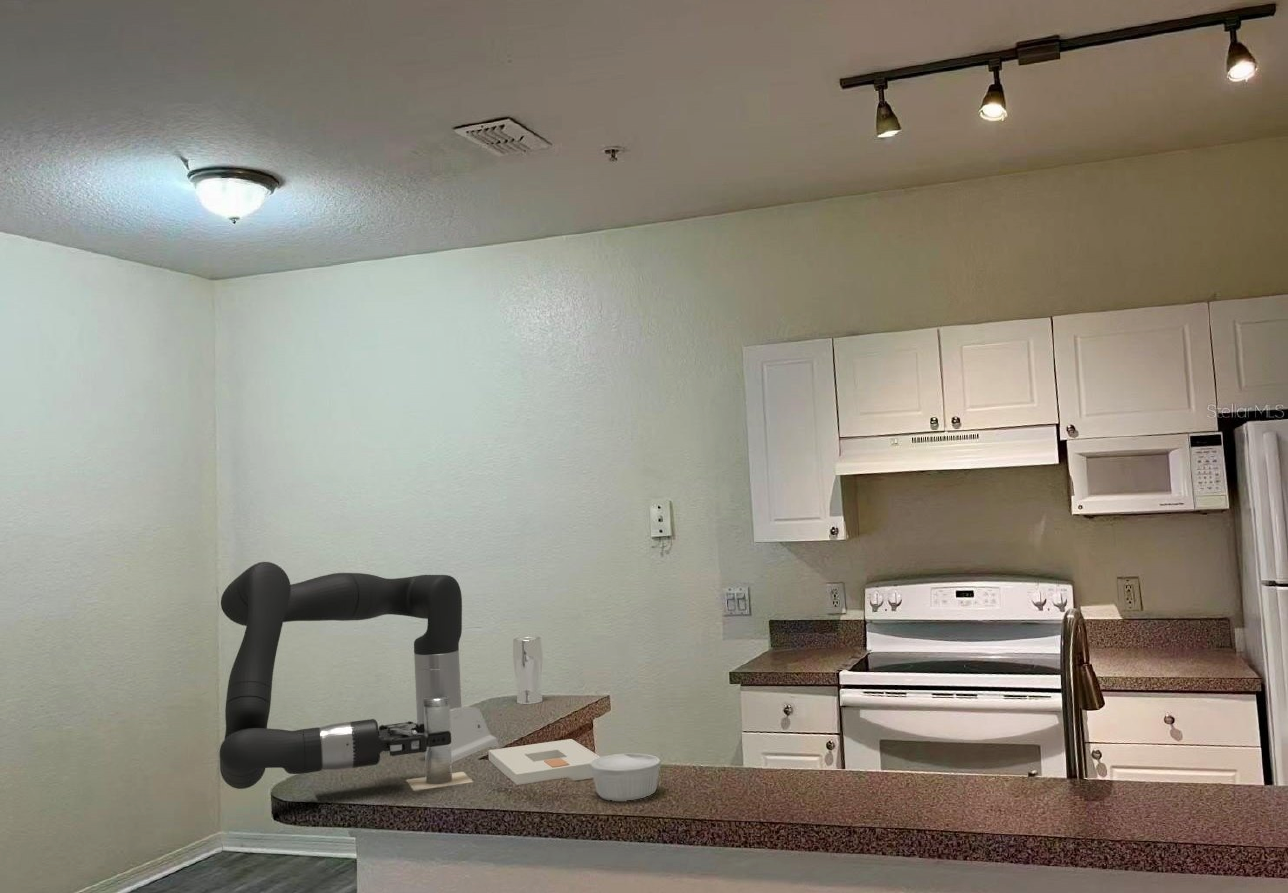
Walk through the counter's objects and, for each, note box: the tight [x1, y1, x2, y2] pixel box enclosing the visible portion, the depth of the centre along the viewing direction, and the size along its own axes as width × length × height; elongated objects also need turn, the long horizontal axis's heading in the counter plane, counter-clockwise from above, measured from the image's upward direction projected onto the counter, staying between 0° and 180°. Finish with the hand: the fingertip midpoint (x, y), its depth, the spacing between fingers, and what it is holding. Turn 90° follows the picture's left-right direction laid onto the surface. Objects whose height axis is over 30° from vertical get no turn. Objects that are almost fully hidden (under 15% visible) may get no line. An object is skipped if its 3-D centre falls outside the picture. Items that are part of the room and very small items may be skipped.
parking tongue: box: [405, 771, 474, 792], centre depth 185 cm, size 8×10×1 cm
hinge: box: [450, 706, 500, 763], centre depth 206 cm, size 17×5×10 cm, turn 156°
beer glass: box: [512, 636, 543, 705], centre depth 258 cm, size 7×7×15 cm
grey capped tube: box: [424, 696, 453, 784], centre depth 185 cm, size 4×4×14 cm
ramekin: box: [590, 752, 662, 802], centre depth 174 cm, size 11×11×5 cm
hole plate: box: [487, 738, 601, 786], centre depth 192 cm, size 20×16×3 cm
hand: (445, 732), depth 186 cm, fingers open, 8 cm apart
